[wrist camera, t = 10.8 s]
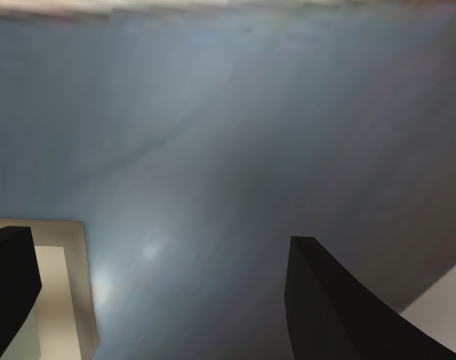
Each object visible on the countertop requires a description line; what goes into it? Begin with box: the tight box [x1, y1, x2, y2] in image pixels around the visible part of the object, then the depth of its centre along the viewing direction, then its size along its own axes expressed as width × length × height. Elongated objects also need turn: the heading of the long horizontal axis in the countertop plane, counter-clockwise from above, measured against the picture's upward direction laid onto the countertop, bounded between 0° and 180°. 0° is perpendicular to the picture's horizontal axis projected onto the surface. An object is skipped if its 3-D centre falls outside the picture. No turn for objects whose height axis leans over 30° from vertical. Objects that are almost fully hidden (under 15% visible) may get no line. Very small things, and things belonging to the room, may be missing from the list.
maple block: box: [0, 219, 99, 360], centre depth 22 cm, size 9×9×3 cm
